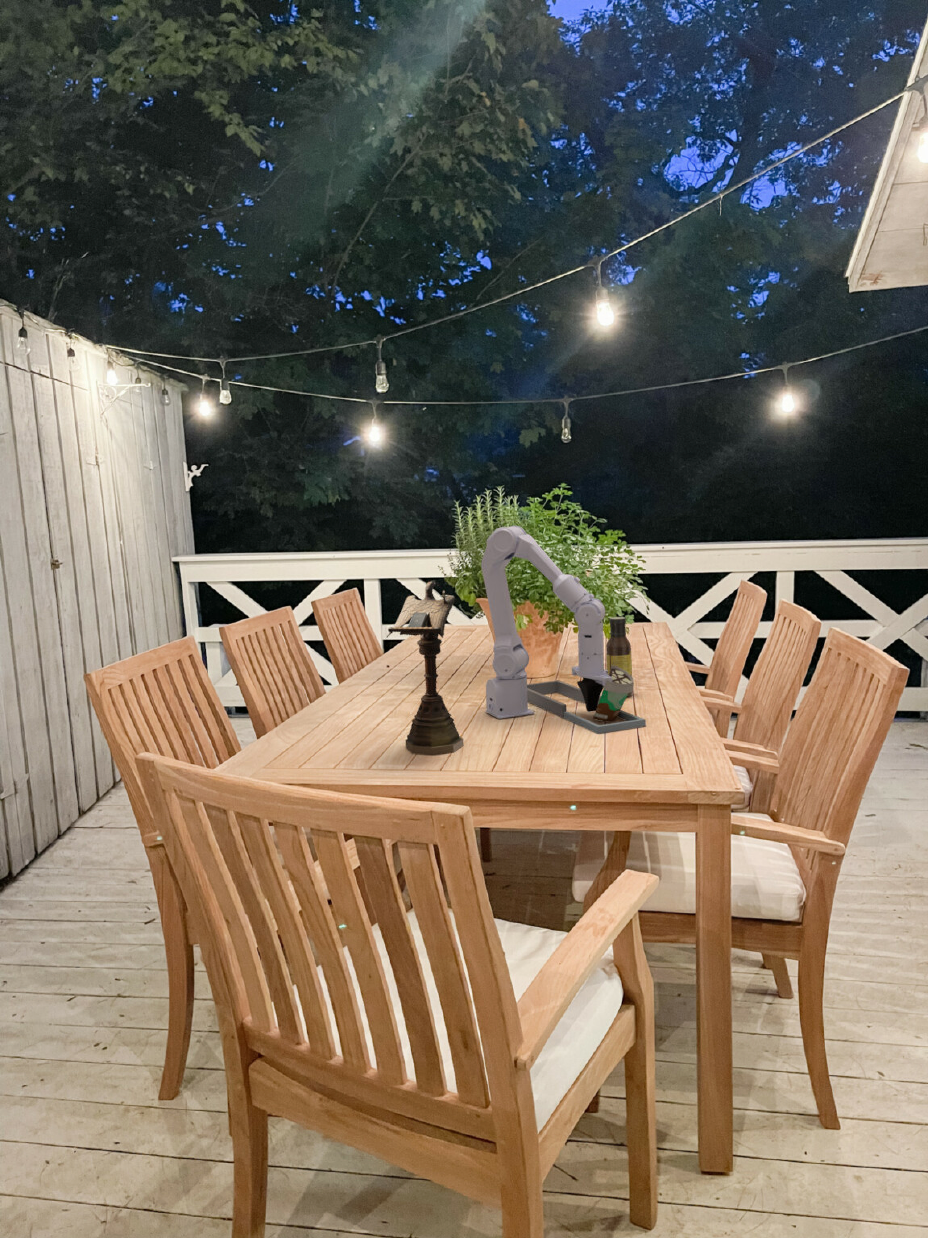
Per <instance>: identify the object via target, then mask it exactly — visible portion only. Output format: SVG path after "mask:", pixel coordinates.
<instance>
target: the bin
mask: <svg viewBox="0 0 928 1238" xmlns="http://www.w3.org/2000/svg"><path fill="white" fill-rule="evenodd" d="M550 694H560V695H562V696H564V697H568V698H569V699H572V700H575V701H577V702H579V703H581V704H584V705H586V704H585V700H584V697H583V694H582V692H581V690H580V688H579V686H575V685H573V684H569V683H568V682H564V681H562V680H559V679H558V680H556V679H555V680H551V681H549V680H548V681H541V682H533V683H527V698H528V703H530V704H532V705H534V706H536V707H539V708H540V709H542V710H544V711H547V712H549V713H552V714H553V715H555V716H558V717H561V718H563V719H564V712H567V704H566V703H564V702H561V701H559V700H557V699H554V698H552V697H549V696H547V695H550ZM600 697H601V695H600ZM600 697H599V700H600ZM598 703H599V701H598ZM597 706H598V705H597Z"/></svg>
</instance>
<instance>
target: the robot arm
mask: <svg viewBox="0 0 928 1238" xmlns="http://www.w3.org/2000/svg"><path fill="white" fill-rule="evenodd" d="M483 553H484V554H483V556H482V559H481V562H480V563H481V571H482V577H483V581H484V587H485V593H486V597H487V602H488V607H489V612H490V616H491V623H492V628H493V632H494V638H495V640H494V644H493V649H492V650H493V653H494V654H493V659H492V669H493V671H494V672H495V674H496V676H495V677H494V678H490V679H488V680H487V681H486V684H485V701H486V704H485V705H486V709H485V713H487V714H489V715H491V716H493V717H494V718H497V719H507V718H514V717H522V716H527V715H529V716H530V715H534V714H535V713H536V712H535V711H534V710H532V709H530V708H529V705H528V703H529V702H528V698H527V684H528V677H527V675H528V674H527V673H528V672H526V667H527V666H528V664H529V662H530V655H529V651H527V650H526V647H525V646H524V644H523V640H522V638H521V636H519V634H518V631H517V625H516V620H515V615H514V610H513V605H512V600H511V596H510V590H509V584H508V581H507V576H506V575H507V574H506V570H505V569H506V567H507V565H509V563H510V561H512V559H513V558H520V559H524V560H528V561H529V562H530V563H531V564H532V565H533V566H534V567H535V568H536V569H537V570H538V571H539V572H540V574H542V575H544V577H546V579H548V581H550V582H551V584H552V593H554V594H555V596H556V597H557V598H558V599H559V600H560V601H561V603H563V604H564V605H565V607H566V608H568V609H569V611H570V612H572V613H573V614H574V615H573V616H574V620H575V622H576V623H577V625H578V626H577V627H578V632H577V646H578V647H577V648H578V649H577V653H578V657H577V658H578V661H577V662H578V665H577V666H576V665H575V666H571V675H572V676H578V677H580V678H582V679H581V680H579V681H577V682H576V684H577V687H578V688H580V690H581V692H582V694H583V697H584V700H585V704H584V705H585V709H586V712H588V713H592V712H596V709H597V705H598V701H599V697H600V696H601V695H602V692H603V689H604V687H605V684H606V681H610V682H612V677H610V676H609V675H608V670H607V669H605V659H604V658H605V655H604V653H605V651H604V643H605V642H604V623H603V620H604V618H605V616H606V608H605V606H604V604H603V602H602V600H600V599H599V598H595V595H594V594H593V593H592V592H591V593H590V592H589V591H587V589H585V587H584V586H583V585H582V584H581V582H580V581H581V579H580V578H579V577H578V576H575V577H574V576H573V574H565V573H563V572H562V570H561V569H560V568H559V567H558V566H557V565H556V564H555V562H554V561H553V560H552V559H551V557H549V555H548V554H547V553H546V552H545V551H544V549H543V548H542V547H541V546H540V545H539V543H537V541H536V539H534V537H533V536H531V535H530V534H528V533H527V532H526V530H525V529H524V528H523V527H522V526H518V525H511V526H506V527H505V526H502V527H498V528H496V529H495V530H494V531H493V532H492V533H491V534H490V535H489V537H488V538H487V539H486V547H485V551H484V552H483Z"/></svg>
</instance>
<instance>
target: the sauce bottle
mask: <svg viewBox="0 0 928 1238" xmlns="http://www.w3.org/2000/svg"><path fill="white" fill-rule="evenodd" d="M626 624H627V618H626V617H624V616H617V617H616V616H613V617H610V618H609V625H610V633H609V634H610V637H609V639H608V640H607V642H606V646H605V647H606V655H605V657H606V659H605V660H606V670H608V675H609V672H610V669H611V667H612V665H614V666H617V667H619V668H621V669H623V670H625V671H626V672H628V673H629V674H630V675H631V676H632V677H633V665H632V664H633V663H632V648H631V647H632V645H631V642H630V640H629V639H628V638H627V635H626V634H627V632H626ZM632 694H633V691H632V692H630V693H628V695H627V697H630V696H631V695H632Z"/></svg>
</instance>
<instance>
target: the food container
mask: <svg viewBox="0 0 928 1238" xmlns="http://www.w3.org/2000/svg"><path fill="white" fill-rule="evenodd" d="M609 676H610V677H612V682H610V681H606V684H605V687H604V688H603V690H602V692H601V694H600V696H601V697H600V700H599V703H598V706H597V709H596V711H594V715H593V717H592V718H593V720H595V721H599V722H604V723H612V722H613V723H614V722H616V720H617V719H618V718H619V717H618V715H619V712H620V710H622V708H623V705H624V703H625V701H626V699H627V697H628V696H627V695H628V693H630V692H632V693H633V691H634V684H635V682H634V678H633V675H632V676H631V675H630V674H629V673H628V672H626V671H625V670H623V669H621V668H619V667H617V666H614V665H612V667H611V669H610V672H609Z"/></svg>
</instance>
